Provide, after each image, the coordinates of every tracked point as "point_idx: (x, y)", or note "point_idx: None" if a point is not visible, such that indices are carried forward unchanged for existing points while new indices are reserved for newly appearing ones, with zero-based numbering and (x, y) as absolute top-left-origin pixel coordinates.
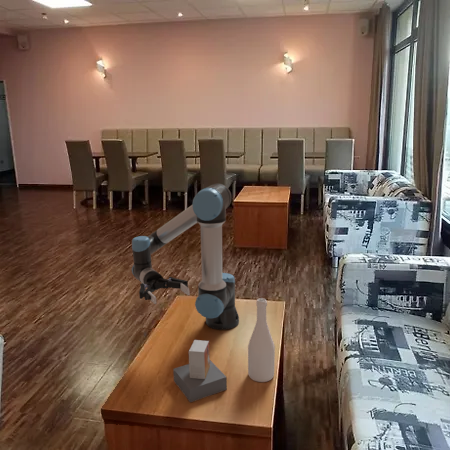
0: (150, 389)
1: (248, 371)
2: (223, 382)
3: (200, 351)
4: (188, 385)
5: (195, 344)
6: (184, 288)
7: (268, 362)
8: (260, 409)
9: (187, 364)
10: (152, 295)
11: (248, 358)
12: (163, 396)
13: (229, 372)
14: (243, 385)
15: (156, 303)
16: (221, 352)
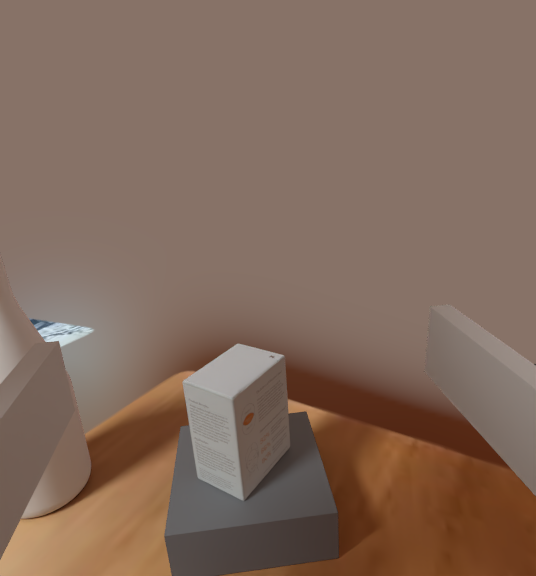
0: (438, 539)
1: (80, 476)
2: None
3: (247, 347)
4: (305, 423)
5: (244, 374)
6: (31, 412)
7: None
8: (164, 396)
9: (270, 520)
10: (477, 326)
11: (69, 433)
12: (386, 491)
13: (115, 535)
14: (131, 465)
15: (425, 369)
16: None
